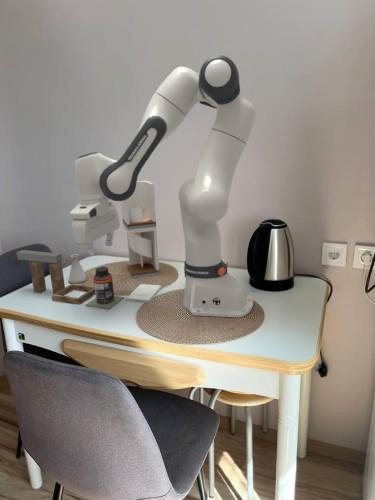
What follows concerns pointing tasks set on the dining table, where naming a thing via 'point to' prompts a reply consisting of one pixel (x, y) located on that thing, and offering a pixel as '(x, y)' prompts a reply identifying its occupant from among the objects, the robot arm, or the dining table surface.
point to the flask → (76, 271)
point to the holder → (58, 283)
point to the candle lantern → (141, 231)
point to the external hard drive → (144, 293)
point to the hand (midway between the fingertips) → (101, 250)
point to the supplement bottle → (103, 285)
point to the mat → (105, 306)
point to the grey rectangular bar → (39, 256)
